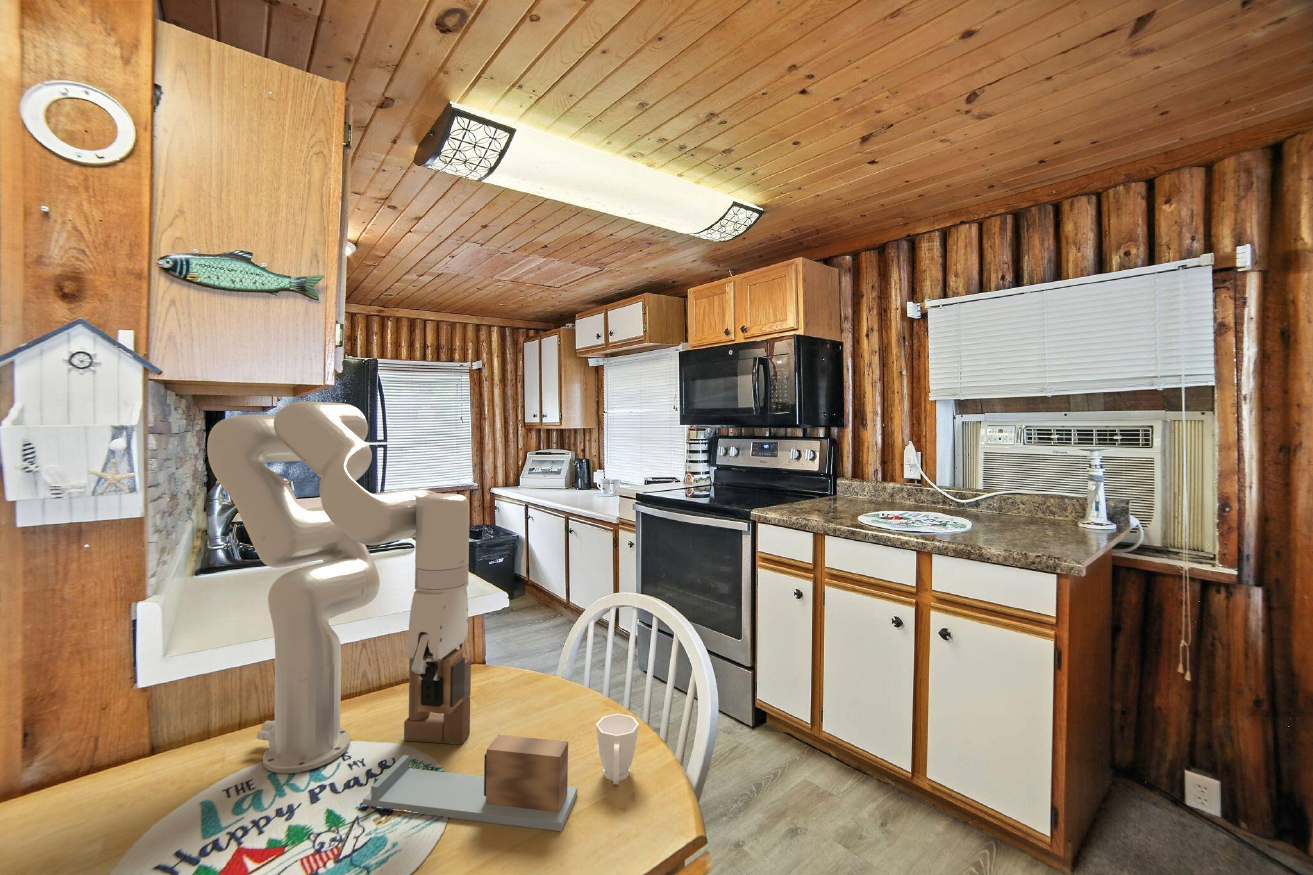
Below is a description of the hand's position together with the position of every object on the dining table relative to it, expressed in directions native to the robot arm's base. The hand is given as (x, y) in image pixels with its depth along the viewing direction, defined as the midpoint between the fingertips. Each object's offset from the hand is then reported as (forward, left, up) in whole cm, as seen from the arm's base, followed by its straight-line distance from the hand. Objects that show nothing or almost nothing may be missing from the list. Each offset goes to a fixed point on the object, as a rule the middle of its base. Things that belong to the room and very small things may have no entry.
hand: (440, 696), depth 86 cm
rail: (+6, 0, -15) cm, 16 cm away
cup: (+26, +9, -15) cm, 31 cm away
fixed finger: (+14, 0, -14) cm, 20 cm away
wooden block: (-8, +15, -15) cm, 23 cm away
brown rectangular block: (0, 0, -1) cm, 1 cm away
